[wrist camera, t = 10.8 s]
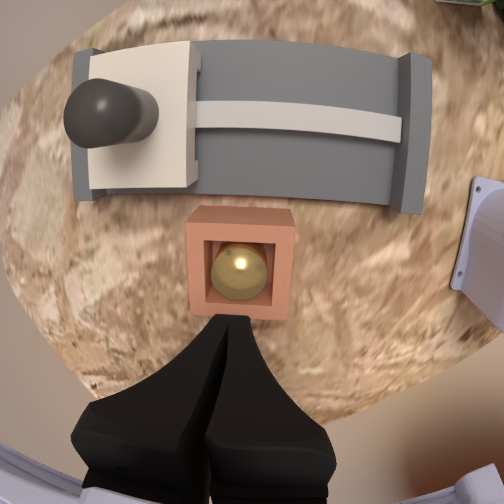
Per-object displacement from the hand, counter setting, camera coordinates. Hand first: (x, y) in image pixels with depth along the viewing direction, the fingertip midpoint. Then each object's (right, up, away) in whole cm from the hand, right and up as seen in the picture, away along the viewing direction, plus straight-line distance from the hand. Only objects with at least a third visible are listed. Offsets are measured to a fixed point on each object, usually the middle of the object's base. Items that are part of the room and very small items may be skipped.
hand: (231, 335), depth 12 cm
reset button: (0, +3, +9) cm, 9 cm away
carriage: (-5, +12, +5) cm, 14 cm away
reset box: (0, +3, +10) cm, 10 cm away
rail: (+1, +12, +7) cm, 13 cm away
